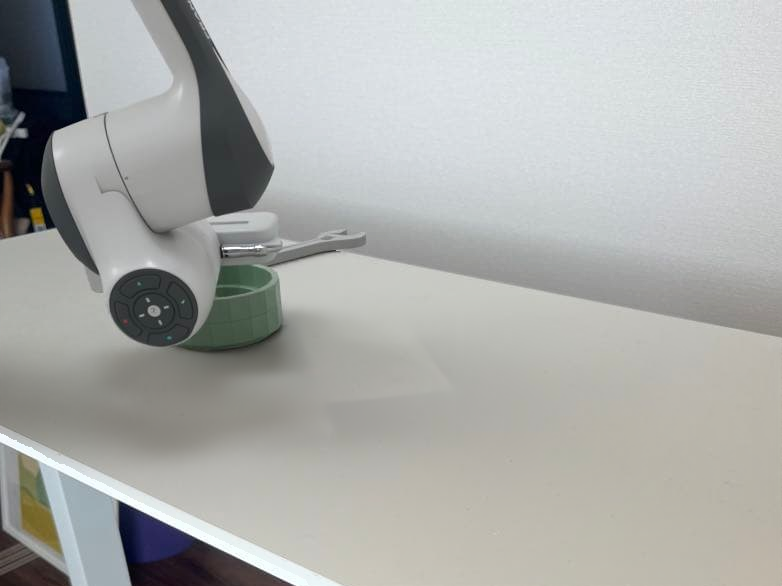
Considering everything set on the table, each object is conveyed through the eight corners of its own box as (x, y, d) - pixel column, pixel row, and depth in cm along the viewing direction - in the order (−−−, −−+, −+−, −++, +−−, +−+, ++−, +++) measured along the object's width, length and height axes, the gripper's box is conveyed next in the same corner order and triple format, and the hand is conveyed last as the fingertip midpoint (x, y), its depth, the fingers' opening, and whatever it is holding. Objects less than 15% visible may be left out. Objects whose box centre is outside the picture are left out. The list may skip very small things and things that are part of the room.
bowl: (157, 358, 90) (147, 305, 87) (159, 314, 102) (150, 265, 99) (289, 346, 93) (284, 294, 90) (276, 304, 105) (272, 257, 101)
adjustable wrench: (226, 277, 115) (225, 264, 114) (206, 267, 119) (204, 254, 118) (371, 245, 127) (371, 233, 126) (348, 237, 131) (348, 225, 130)
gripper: (279, 217, 78) (279, 187, 90) (59, 226, 76) (87, 193, 88) (285, 283, 82) (285, 246, 93) (75, 293, 80) (100, 253, 91)
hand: (187, 220), depth 90 cm, fingers closed
